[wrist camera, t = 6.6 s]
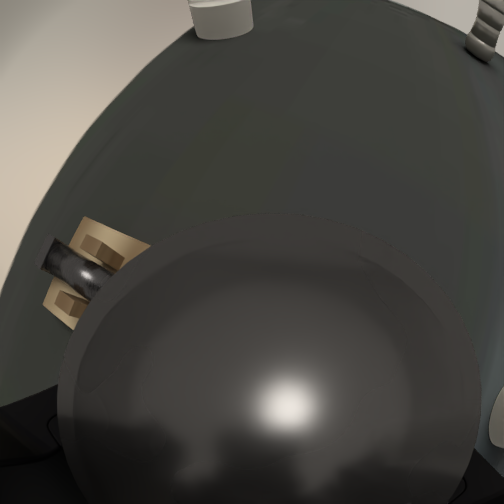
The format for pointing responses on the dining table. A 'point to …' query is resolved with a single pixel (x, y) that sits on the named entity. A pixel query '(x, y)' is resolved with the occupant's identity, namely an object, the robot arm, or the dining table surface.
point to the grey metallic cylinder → (269, 372)
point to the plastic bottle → (486, 29)
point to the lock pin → (72, 267)
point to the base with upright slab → (221, 18)
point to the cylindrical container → (497, 421)
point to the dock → (99, 251)
